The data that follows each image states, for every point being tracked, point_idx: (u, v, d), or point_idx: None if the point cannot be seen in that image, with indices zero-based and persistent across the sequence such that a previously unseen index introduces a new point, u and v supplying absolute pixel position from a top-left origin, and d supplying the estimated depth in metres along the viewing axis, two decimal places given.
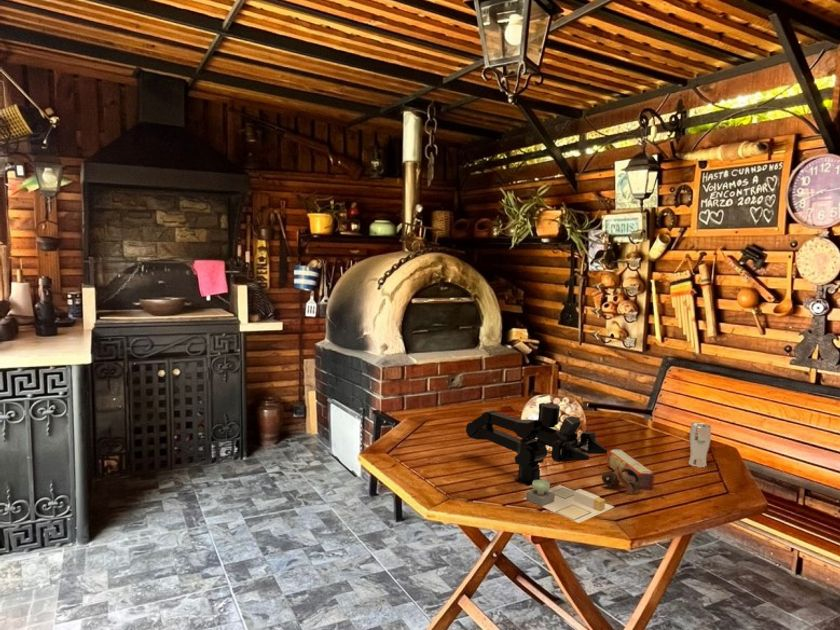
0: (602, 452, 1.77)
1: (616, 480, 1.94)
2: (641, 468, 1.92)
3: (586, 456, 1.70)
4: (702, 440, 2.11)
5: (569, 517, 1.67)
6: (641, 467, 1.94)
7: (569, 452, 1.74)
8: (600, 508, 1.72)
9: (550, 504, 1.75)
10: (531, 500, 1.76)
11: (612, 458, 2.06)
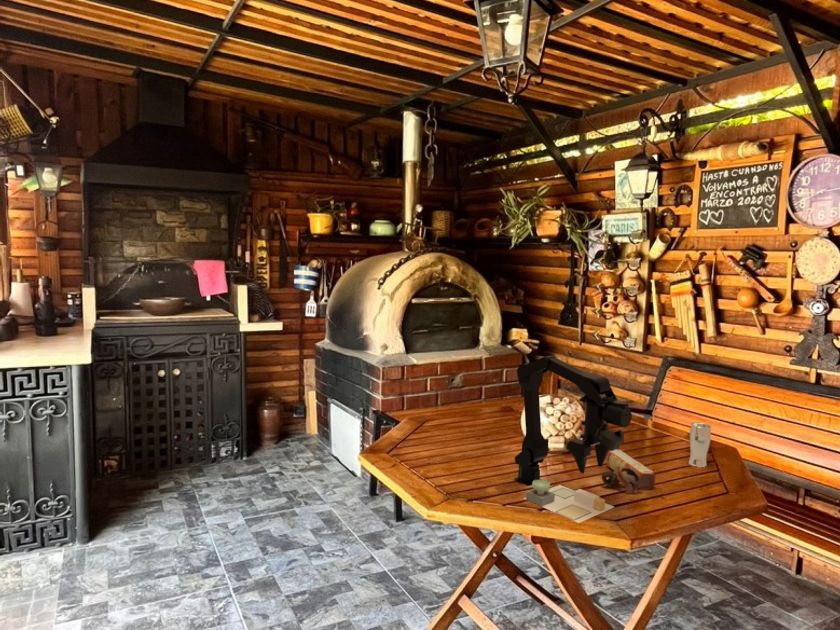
0: (598, 462, 1.78)
1: (616, 479, 1.94)
2: (642, 468, 1.92)
3: (582, 471, 1.71)
4: (702, 440, 2.11)
5: (569, 517, 1.67)
6: (642, 467, 1.94)
7: (580, 454, 1.71)
8: (600, 508, 1.72)
9: (550, 504, 1.75)
10: (531, 500, 1.76)
11: (611, 458, 2.06)
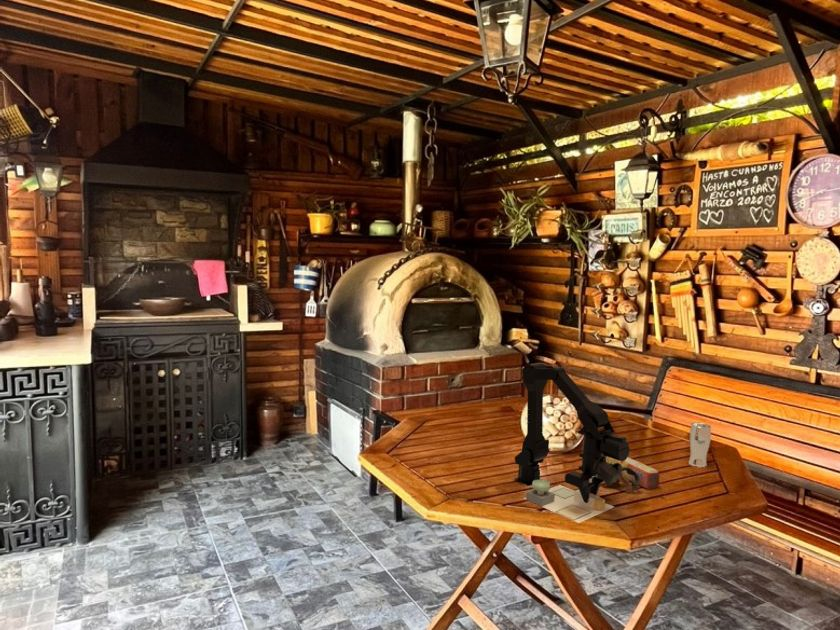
0: None
1: None
2: (647, 468, 1.93)
3: (586, 501, 1.74)
4: (702, 440, 2.11)
5: (569, 517, 1.67)
6: (645, 467, 1.94)
7: None
8: (600, 508, 1.72)
9: (550, 504, 1.75)
10: (531, 500, 1.76)
11: (608, 459, 2.05)
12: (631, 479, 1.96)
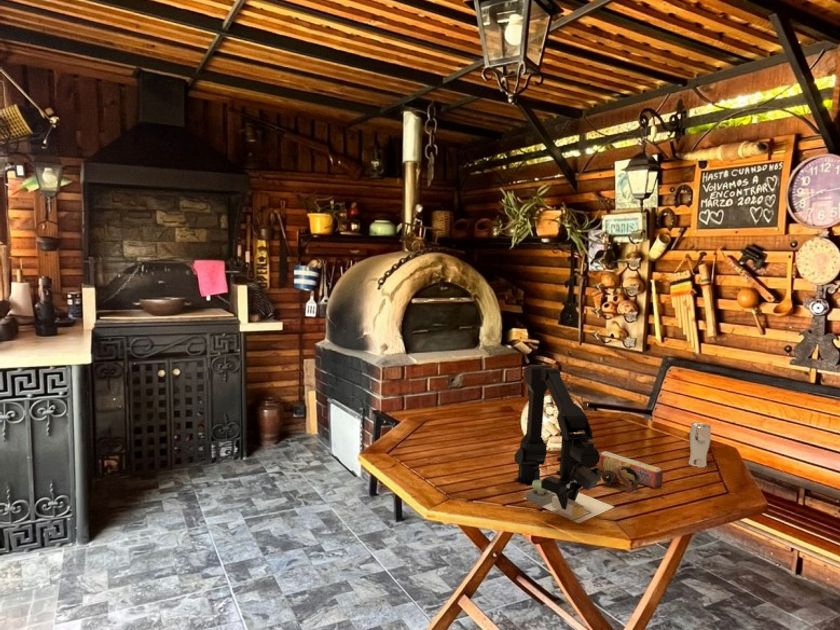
0: None
1: (615, 478, 1.95)
2: (651, 467, 1.94)
3: (564, 507, 1.67)
4: (702, 440, 2.11)
5: (569, 517, 1.67)
6: (648, 466, 1.95)
7: None
8: (579, 515, 1.64)
9: (550, 504, 1.75)
10: (531, 500, 1.76)
11: (607, 461, 2.03)
12: None
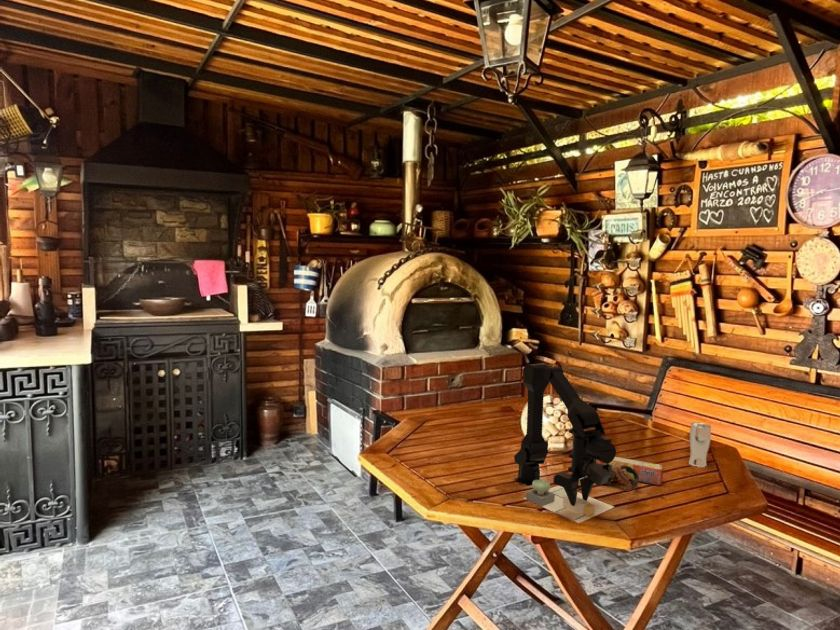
0: (583, 496, 1.74)
1: (615, 477, 1.96)
2: (654, 465, 1.96)
3: (573, 504, 1.69)
4: (702, 440, 2.11)
5: (569, 517, 1.67)
6: (650, 464, 1.97)
7: None
8: (590, 514, 1.68)
9: (550, 504, 1.75)
10: (531, 500, 1.76)
11: None
12: (640, 479, 1.96)
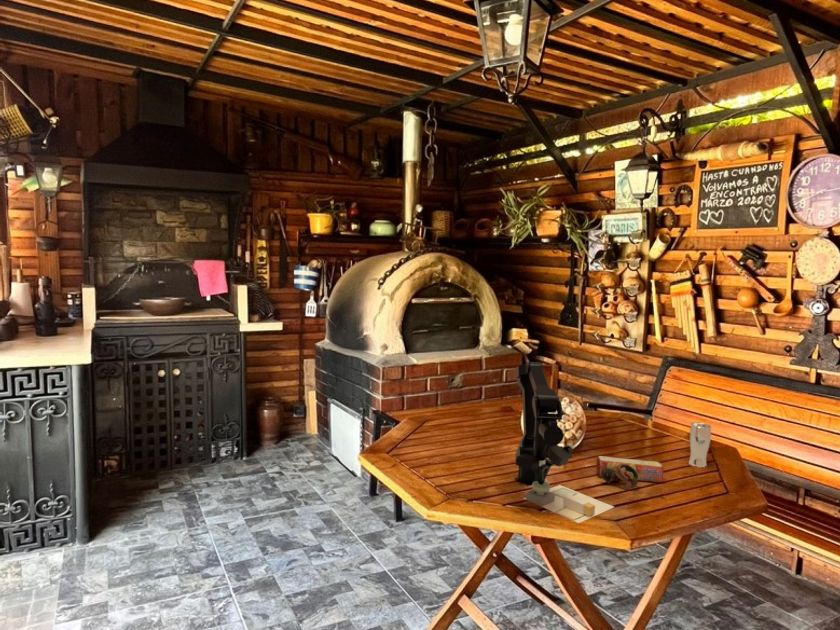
0: None
1: (614, 476, 1.97)
2: (653, 463, 1.98)
3: (540, 482, 1.77)
4: (702, 440, 2.11)
5: (569, 517, 1.67)
6: (649, 462, 1.99)
7: None
8: (590, 514, 1.68)
9: (550, 504, 1.75)
10: (531, 500, 1.76)
11: (610, 466, 1.98)
12: (642, 478, 1.97)
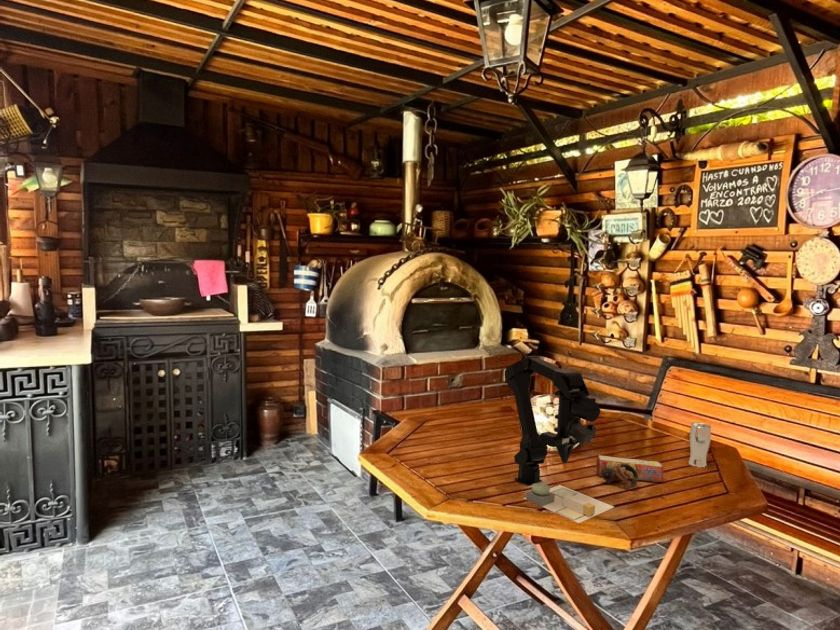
0: None
1: (614, 475, 1.98)
2: (653, 462, 1.98)
3: (564, 461, 1.78)
4: (702, 440, 2.11)
5: (569, 517, 1.67)
6: (649, 462, 1.99)
7: None
8: (590, 514, 1.68)
9: (550, 504, 1.75)
10: (531, 500, 1.76)
11: (610, 466, 1.98)
12: (642, 478, 1.97)
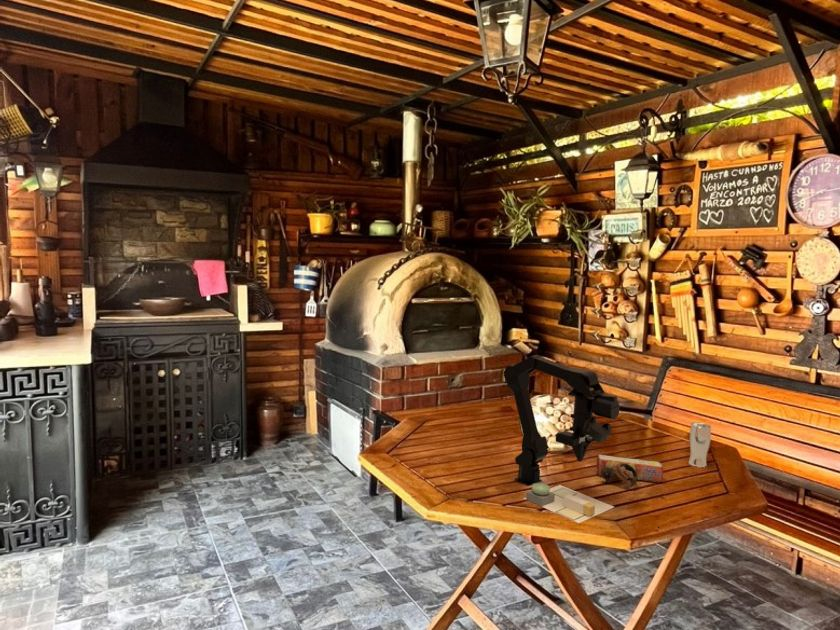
0: None
1: (614, 475, 1.98)
2: (653, 463, 1.98)
3: (579, 459, 1.80)
4: (702, 440, 2.11)
5: (569, 517, 1.67)
6: (649, 462, 1.99)
7: None
8: (590, 514, 1.68)
9: (550, 504, 1.75)
10: (531, 500, 1.76)
11: (609, 465, 1.99)
12: (641, 478, 1.97)
